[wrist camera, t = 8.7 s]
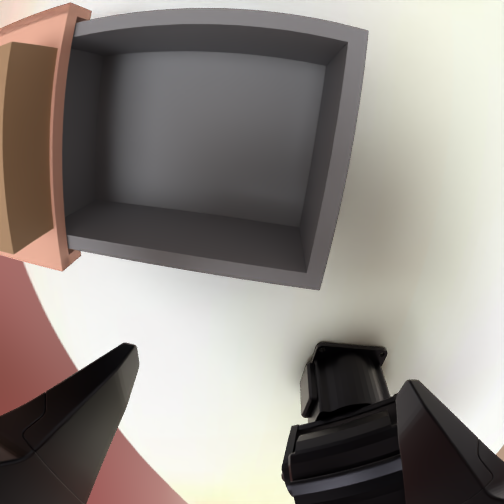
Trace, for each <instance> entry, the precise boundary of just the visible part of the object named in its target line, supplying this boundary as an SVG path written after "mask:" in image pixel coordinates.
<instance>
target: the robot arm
mask: <svg viewBox="0 0 504 504" xmlns="http://www.w3.org/2000/svg"><path fill="white" fill-rule="evenodd" d="M321 348H324V349H321ZM380 353H382V354H380ZM386 356H387V350H386V349H385V348H382V347H368V346H355V345H344V344H333V343H324V342H323V343H319V344H317V346H316V348H315V351H314V354H313V357H312V360H311V362H309V363H307V364H306V367H305V370H304V373H303V375H302V378H301V381H300V391H301V415H302V416H303V417H304V418H308V423H307V424H303V425H294V426H292V427H291V431H290V434H289V438H288V442H287V447H286V451H285V455H284V460H283V464H282V475H281V476H282V480H283V481H285V484H286V487H287V489H288V491H289V493H290V495H291V496H292V497H294V500H295V504H504V462H503V461H502V460H501V459H500V458H499V457H498V456H497V455H495V454H494V453H493V452H492V451H491V450H490V449H489V448H488V447H487V446H486V445H485V444H484V443H483V442H482V441H481V440H480V439H478V437H477V436H476V435H475V434H474V433H472V432H471V431H470V430H469V429H468V428H467V427H466V426H465V425H464V424H463V423H462V422H461V421H460V420H459V419H458V418H457V417H456V416H455V415H454V414H453V413H452V412H451V411H450V410H449V409H448V408H447V407H446V406H445V405H444V404H443V403H442V402H441V401H440V400H439V399H438V398H437V397H436V396H434V395H433V394H432V393H431V392H430V391H429V390H428V389H427V388H426V387H425V386H424V385H423V384H422V383H421V382H420V381H419V380H407V381H406V382H405V383H404V385H403V386H402V388H401V390H400V391H399V393H397V394H395V395H394V396H392V397H390V394H389V391H388V387H387V384H386V381H385V378H384V374H383V371H382V368H381V366H382V364H383V362H384V360H385V358H386ZM138 369H139V358H138V351H137V347H136V345H134V344H130V343H122V344H121V345H119V346H118V347H116V348H114V349H113V350H111V351H110V352H108V353H106V354H105V355H103V356H102V357H100V358H99V359H97V360H95V361H94V362H92V363H91V364H89V365H87V366H86V367H84V368H83V369H81V370H79V371H78V372H76V373H75V374H73V375H72V376H70V377H68V378H67V379H65V380H64V381H62V382H61V383H59V384H57V385H56V386H54V387H53V388H51V389H49V390H47V391H46V393H45V392H44V393H43V394H41V395H39V396H38V397H36V398H34V399H33V400H31V401H29V402H27V403H26V404H24V405H22V406H20V407H18V408H16V409H14V410H12V411H10V412H8V413H6V414H3V415H1V416H0V504H86V503H87V501H88V498H89V495H90V493H91V490H92V488H93V485H94V483H95V480H96V477H97V475H98V473H99V470H100V468H101V466H102V463H103V461H104V458H105V456H106V453H107V451H108V449H109V446H110V444H111V442H112V439H113V437H114V435H115V432H116V430H117V428H118V426H119V423H120V421H121V419H122V416H123V414H124V412H125V410H126V407H127V404H128V401H129V398H130V395H131V391H132V388H133V385H134V382H135V378H136V375H137V372H138Z"/></svg>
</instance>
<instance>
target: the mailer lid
mask: <svg viewBox="0 0 504 504" xmlns="http://www.w3.org/2000/svg"><path fill="white" fill-rule="evenodd" d="M91 12H92V11H90V10H88V9H85V8H83V7H80V6H78V5H76V4H73V3H67V4H64V5H61V6H57V7H54V8H51V9H48V10H45V11H42V12H40V13H37V14H34V15H31V16H29V17H26V18H24V19H21V20H19V21H16V22H14V23H12V24H9V25H7V26H5V27H3V28H0V255H2V256H6V257H9V258H13V259H16V260H20V261H24V262H28V263H31V264H35V265H39V266H43V267H47V268H51V269H55V270H59V271H64V270H65V269H66V268H67V267H68V266H69V265H71V264H72V263H73V262H74V261H75V260H76V259H78V258H79V257H80V256H81V252H80V251H79V250H74V249H69V248H68V245H67V236H66V227H65V215H64V201H63V180H62V134H63V113H64V99H65V89H66V79H67V71H68V64H69V57H70V51H71V45H72V39H73V34H74V29H75V24H76V23H78V22H82V21H87V20H90V17H91Z"/></svg>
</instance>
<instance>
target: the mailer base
mask: <svg viewBox="0 0 504 504" xmlns="http://www.w3.org/2000/svg"><path fill="white" fill-rule="evenodd" d="M367 41H368V30H364V29H360V28H356V27H353V26H349V25H344V24H340V23H336V22H331V21H327V20H322V19H316V18H311V17H305V16H299V15H293V14H285V13H278V12H269V11H259V10H246V9H227V8H185V9H166V10H153V11H143V12H134V13H127V14H120V15H113V16H108V17H102V18H97V19H92V20H87V21H82V22H78V23H76V24H75V29H74V34H73V39H72V45H71V51H70V57H69V64H68V71H67V79H66V89H65V99H64V113H63V134H62V180H63V201H64V215H65V227H66V236H67V245H68V248H69V249H74V250H79V251H84V252H89V253H94V254H100V255H105V256H110V257H116V258H121V259H127V260H132V261H138V262H143V263H149V264H155V265H160V266H166V267H172V268H178V269H184V270H190V271H196V272H202V273H208V274H214V275H220V276H226V277H233V278H239V279H245V280H252V281H258V282H265V283H272V284H279V285H285V286H292V287H299V288H306V289H313V290H320V287H321V283H322V279H323V276H324V272H325V268H326V264H327V260H328V256H329V252H330V248H331V244H332V240H333V236H334V232H335V227H336V223H337V219H338V214H339V210H340V205H341V201H342V196H343V191H344V186H345V182H346V177H347V172H348V167H349V161H350V156H351V151H352V145H353V140H354V134H355V128H356V122H357V116H358V110H359V103H360V97H361V90H362V82H363V75H364V67H365V59H366V50H367Z"/></svg>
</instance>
